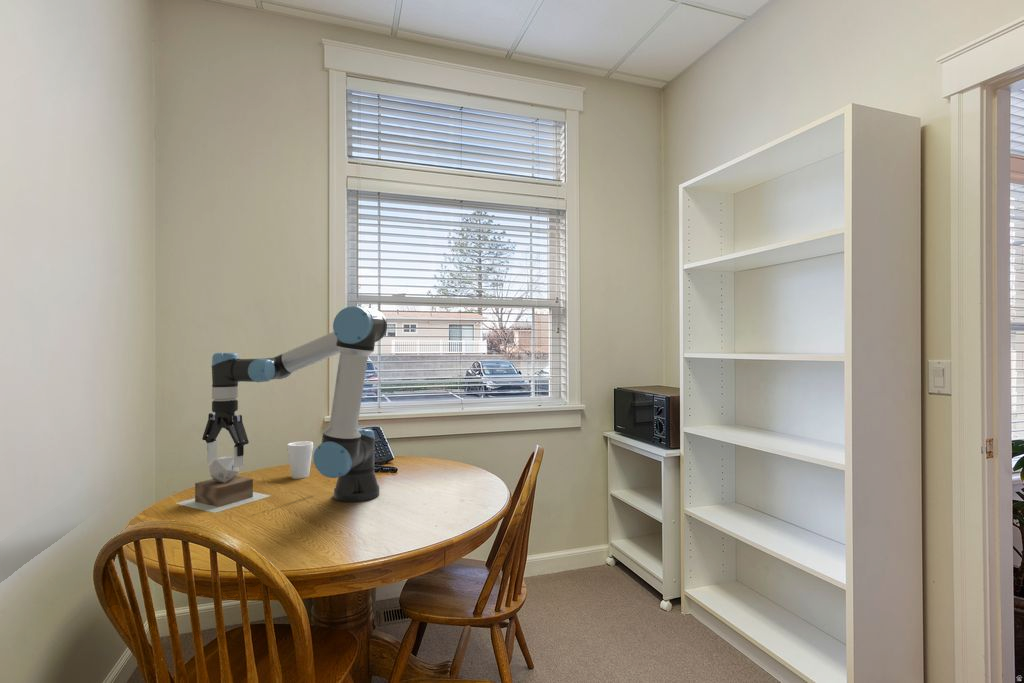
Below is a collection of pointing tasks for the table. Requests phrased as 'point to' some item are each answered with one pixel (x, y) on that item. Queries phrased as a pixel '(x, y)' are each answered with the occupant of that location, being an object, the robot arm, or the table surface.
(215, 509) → the base plate
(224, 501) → the walnut block
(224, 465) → the die
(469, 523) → the table surface
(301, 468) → the foam cup
